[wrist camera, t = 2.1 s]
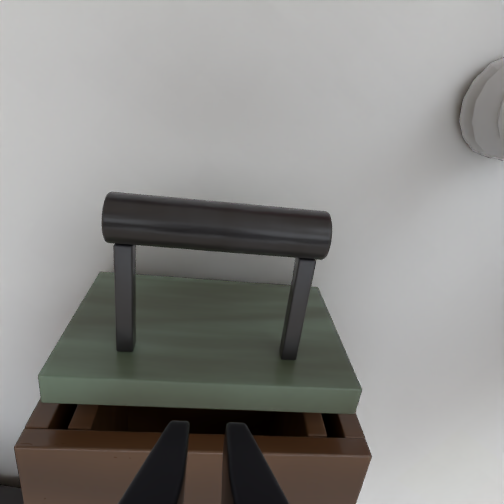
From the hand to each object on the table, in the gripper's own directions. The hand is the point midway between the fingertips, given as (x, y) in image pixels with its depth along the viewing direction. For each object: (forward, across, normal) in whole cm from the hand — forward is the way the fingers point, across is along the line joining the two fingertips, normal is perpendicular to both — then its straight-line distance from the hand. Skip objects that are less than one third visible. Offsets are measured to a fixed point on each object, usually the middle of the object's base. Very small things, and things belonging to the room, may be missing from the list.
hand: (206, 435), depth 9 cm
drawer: (+12, 0, +6) cm, 13 cm away
